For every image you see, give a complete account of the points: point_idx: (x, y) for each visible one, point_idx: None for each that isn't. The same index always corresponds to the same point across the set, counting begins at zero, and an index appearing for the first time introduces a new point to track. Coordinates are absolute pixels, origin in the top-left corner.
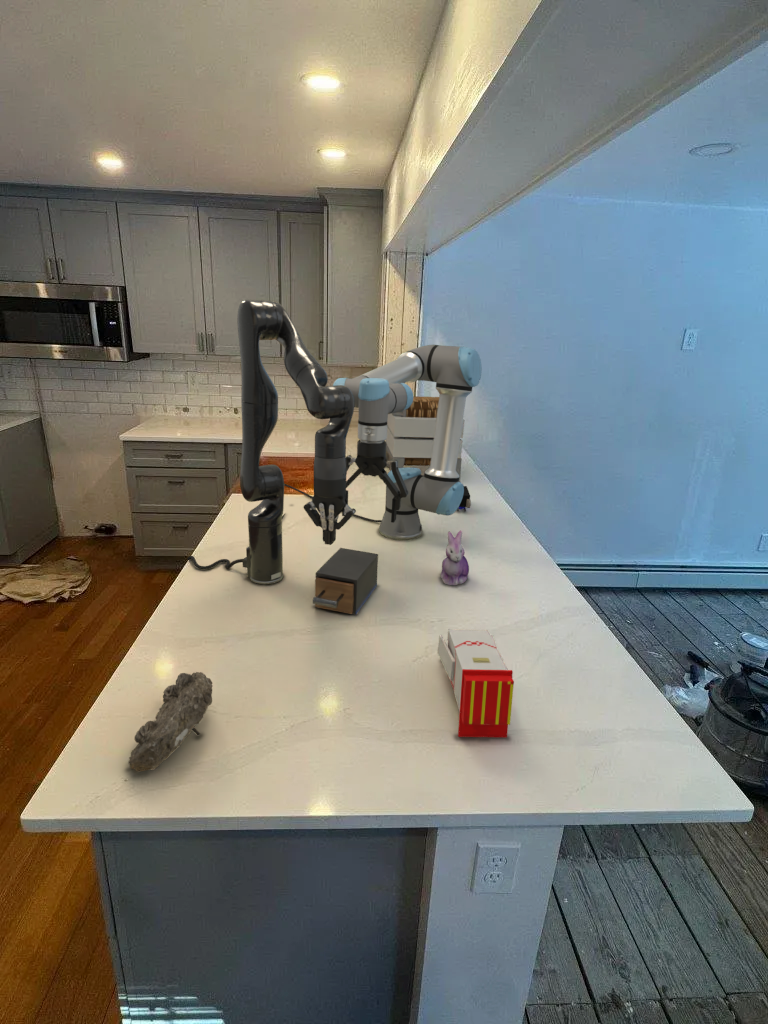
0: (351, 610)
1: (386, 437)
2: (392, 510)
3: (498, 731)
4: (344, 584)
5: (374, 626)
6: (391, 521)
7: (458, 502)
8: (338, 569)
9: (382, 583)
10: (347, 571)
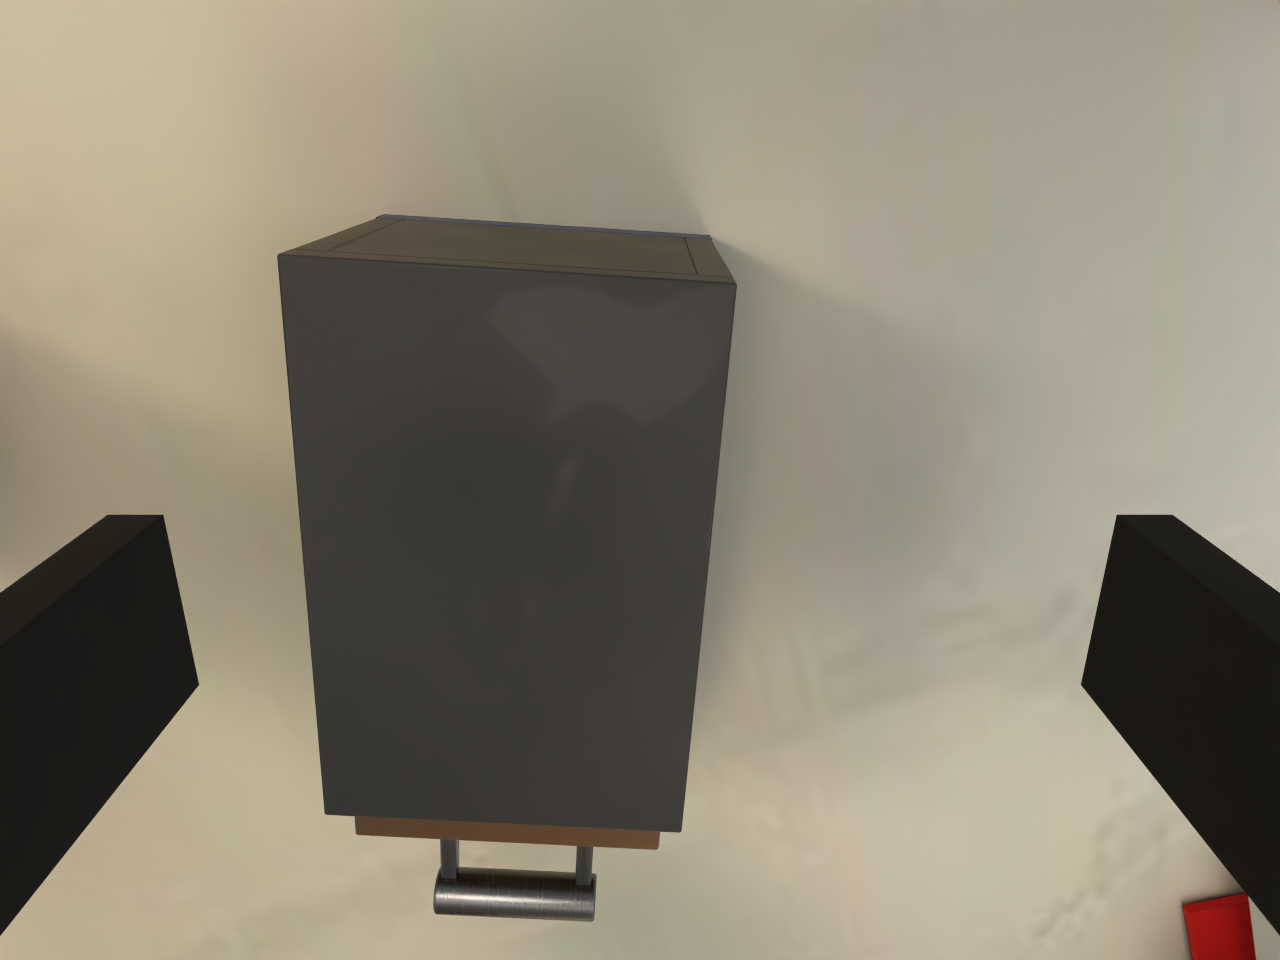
0: None
1: None
2: (1236, 857)
3: None
4: (594, 846)
5: (805, 736)
6: (1094, 691)
7: None
8: (473, 718)
9: (744, 175)
10: (559, 729)
